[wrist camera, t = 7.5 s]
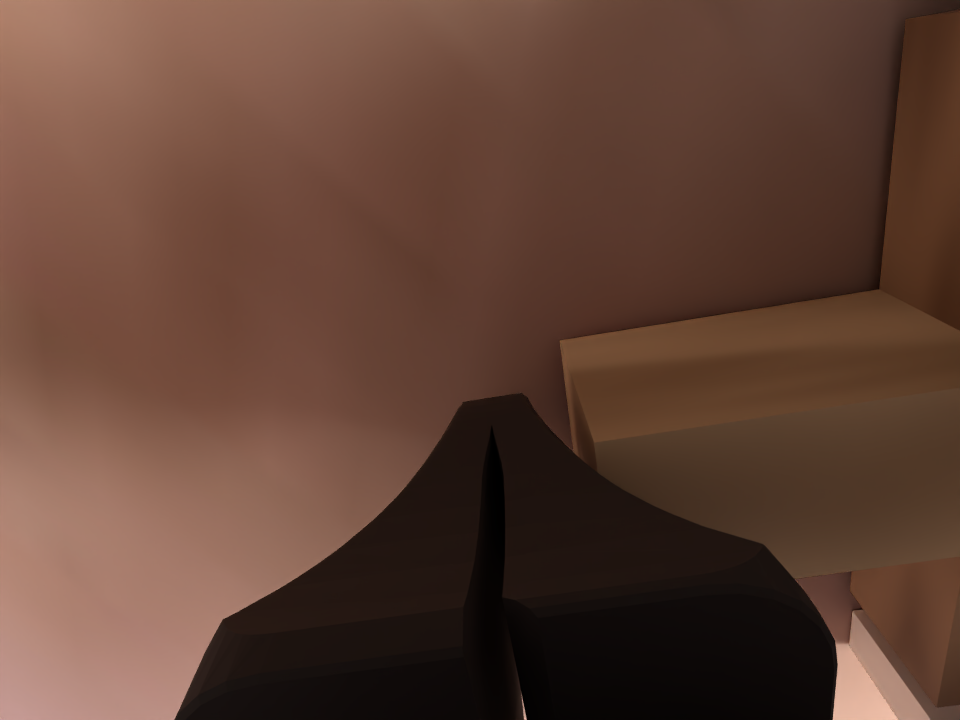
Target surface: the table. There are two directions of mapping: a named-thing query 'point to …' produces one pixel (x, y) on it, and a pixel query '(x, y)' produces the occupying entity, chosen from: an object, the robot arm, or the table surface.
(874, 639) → the tall white box
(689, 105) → the table surface
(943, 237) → the wooden post with crossbar
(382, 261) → the table surface
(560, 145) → the table surface
